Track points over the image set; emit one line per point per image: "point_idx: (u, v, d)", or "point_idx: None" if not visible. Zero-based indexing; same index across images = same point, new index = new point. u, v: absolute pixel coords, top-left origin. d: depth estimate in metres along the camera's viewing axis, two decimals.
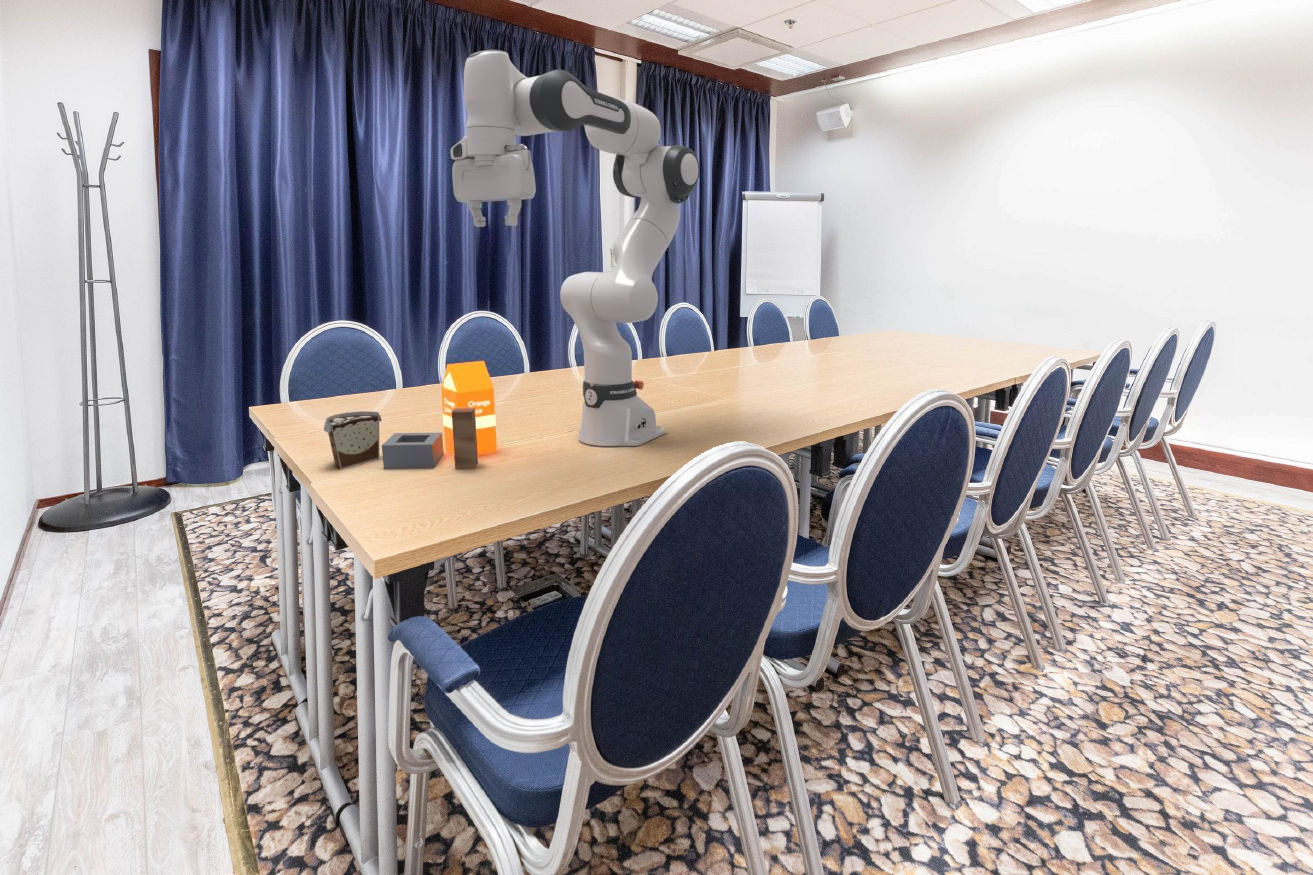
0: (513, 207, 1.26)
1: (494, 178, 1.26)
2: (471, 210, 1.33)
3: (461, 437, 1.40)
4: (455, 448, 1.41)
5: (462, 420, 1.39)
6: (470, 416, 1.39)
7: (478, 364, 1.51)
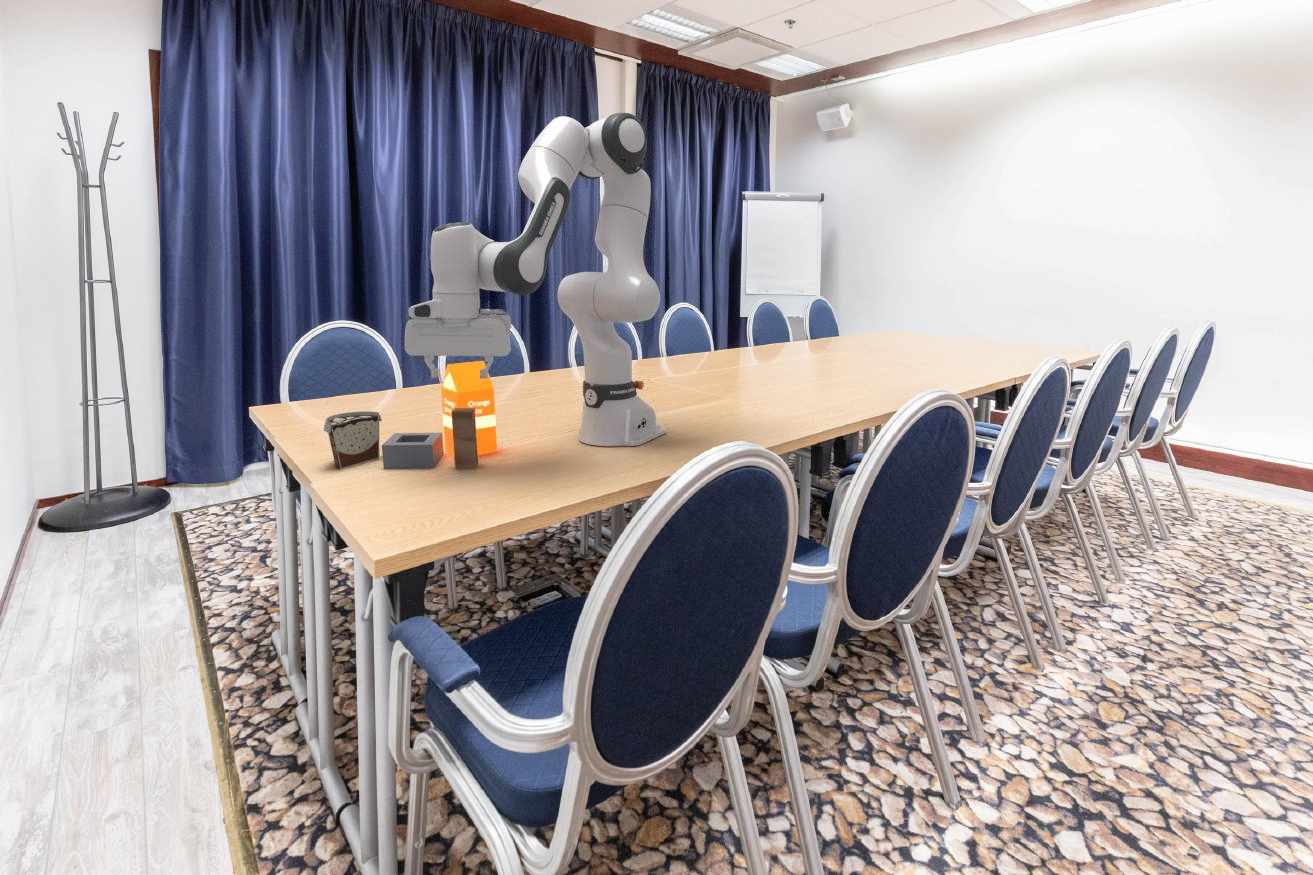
0: (491, 363, 1.38)
1: (470, 338, 1.35)
2: (429, 363, 1.37)
3: (461, 437, 1.40)
4: (455, 448, 1.41)
5: (462, 420, 1.39)
6: (470, 416, 1.39)
7: (478, 364, 1.51)
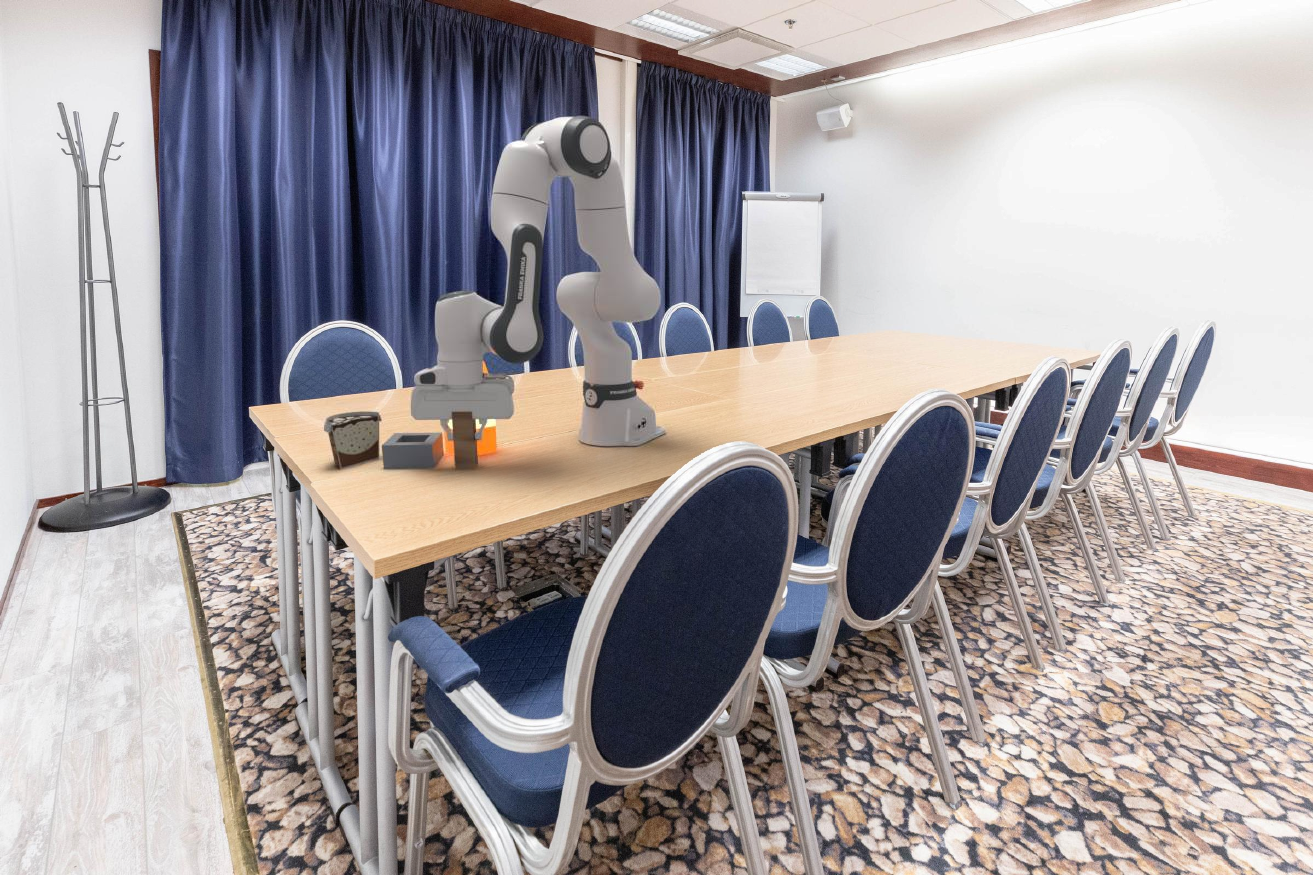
0: (485, 425, 1.41)
1: (474, 402, 1.39)
2: (445, 427, 1.40)
3: (461, 437, 1.40)
4: (455, 448, 1.41)
5: (462, 420, 1.39)
6: (470, 416, 1.39)
7: None
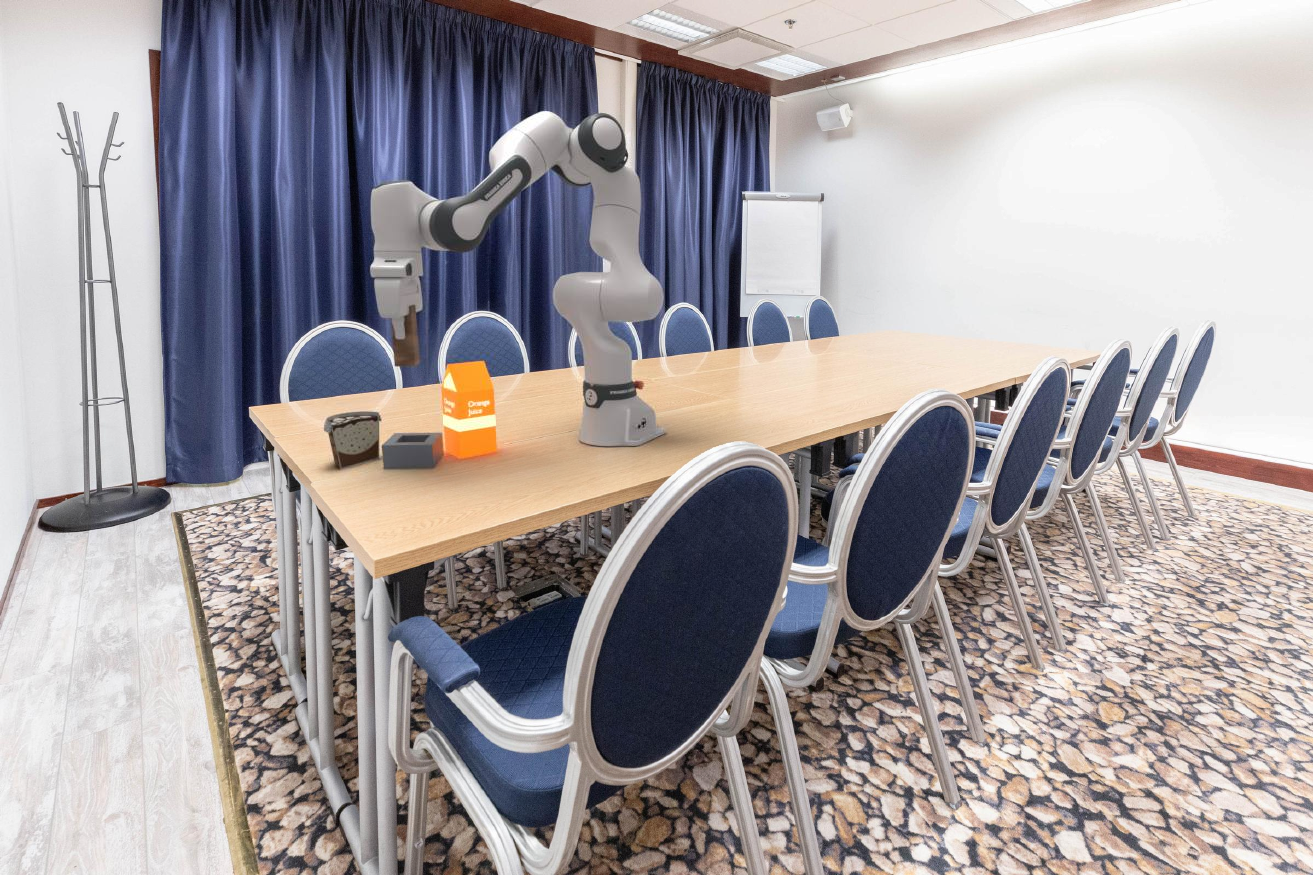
0: None
1: (413, 295, 1.41)
2: None
3: (414, 331, 1.39)
4: (413, 344, 1.39)
5: (413, 314, 1.39)
6: (415, 309, 1.40)
7: (478, 364, 1.51)
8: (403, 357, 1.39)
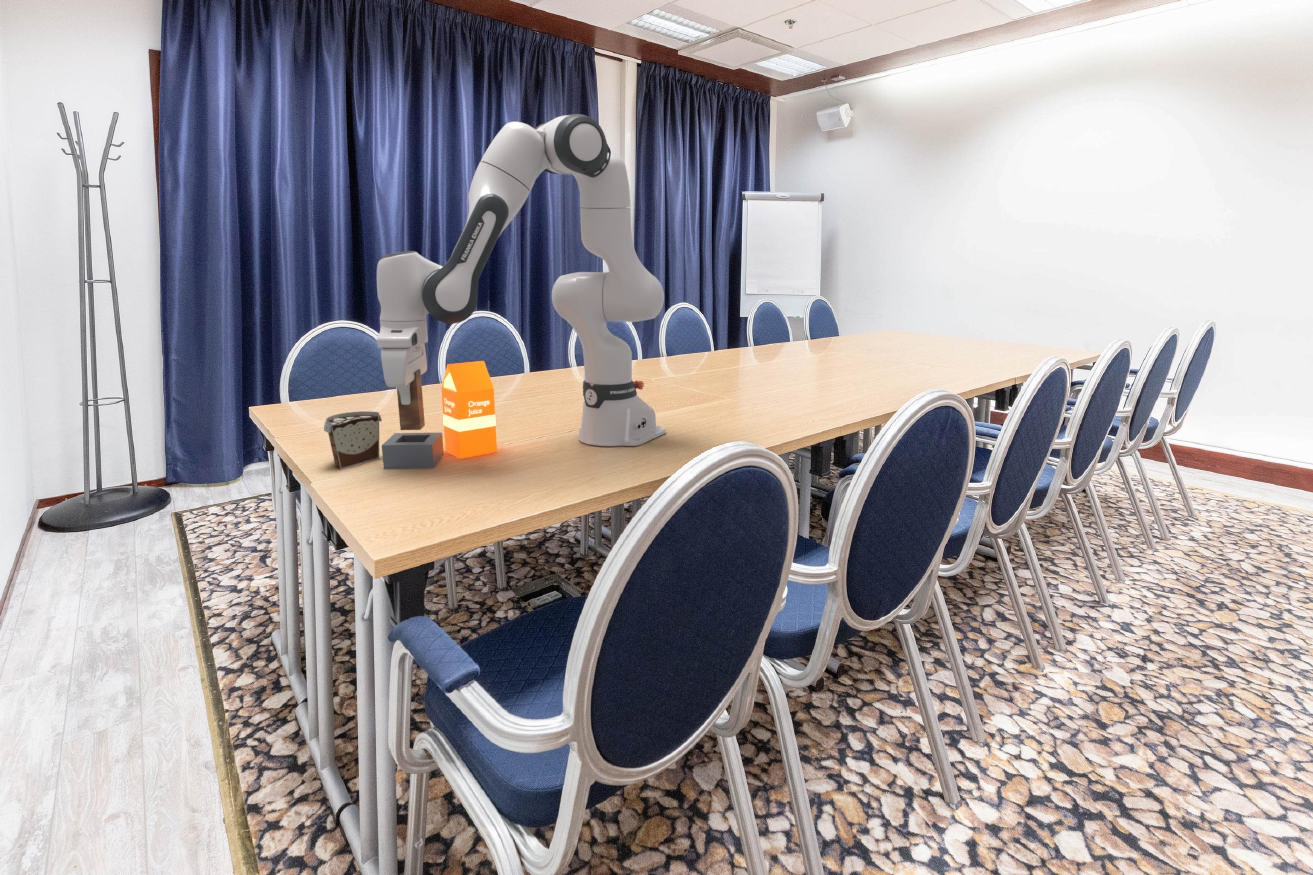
0: None
1: (418, 359, 1.44)
2: (409, 390, 1.39)
3: (419, 396, 1.43)
4: (419, 408, 1.42)
5: (418, 379, 1.42)
6: (420, 374, 1.44)
7: (478, 364, 1.51)
8: (408, 421, 1.42)
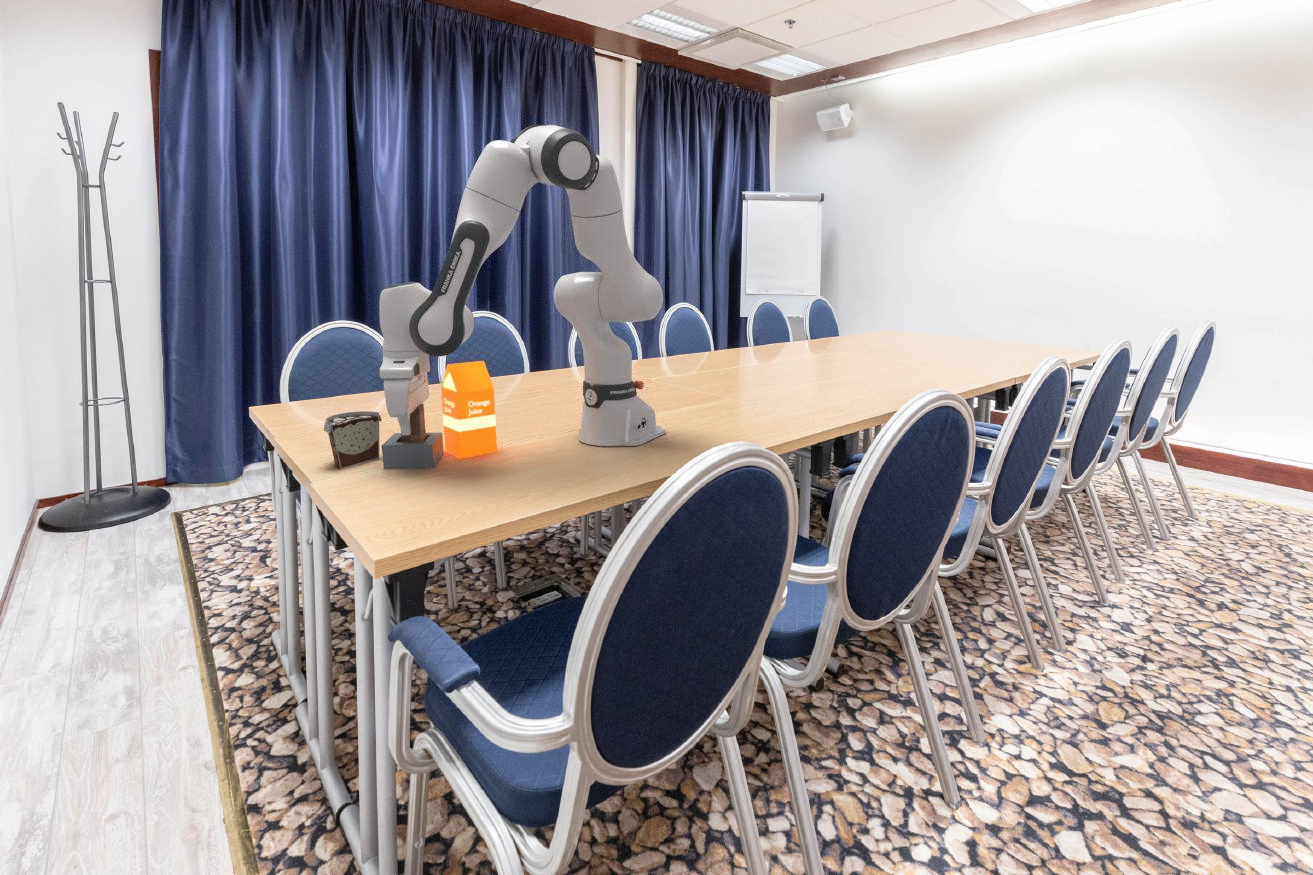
0: None
1: (421, 387, 1.45)
2: (409, 421, 1.39)
3: (422, 430, 1.45)
4: None
5: (421, 414, 1.44)
6: (423, 408, 1.46)
7: (478, 364, 1.51)
8: None
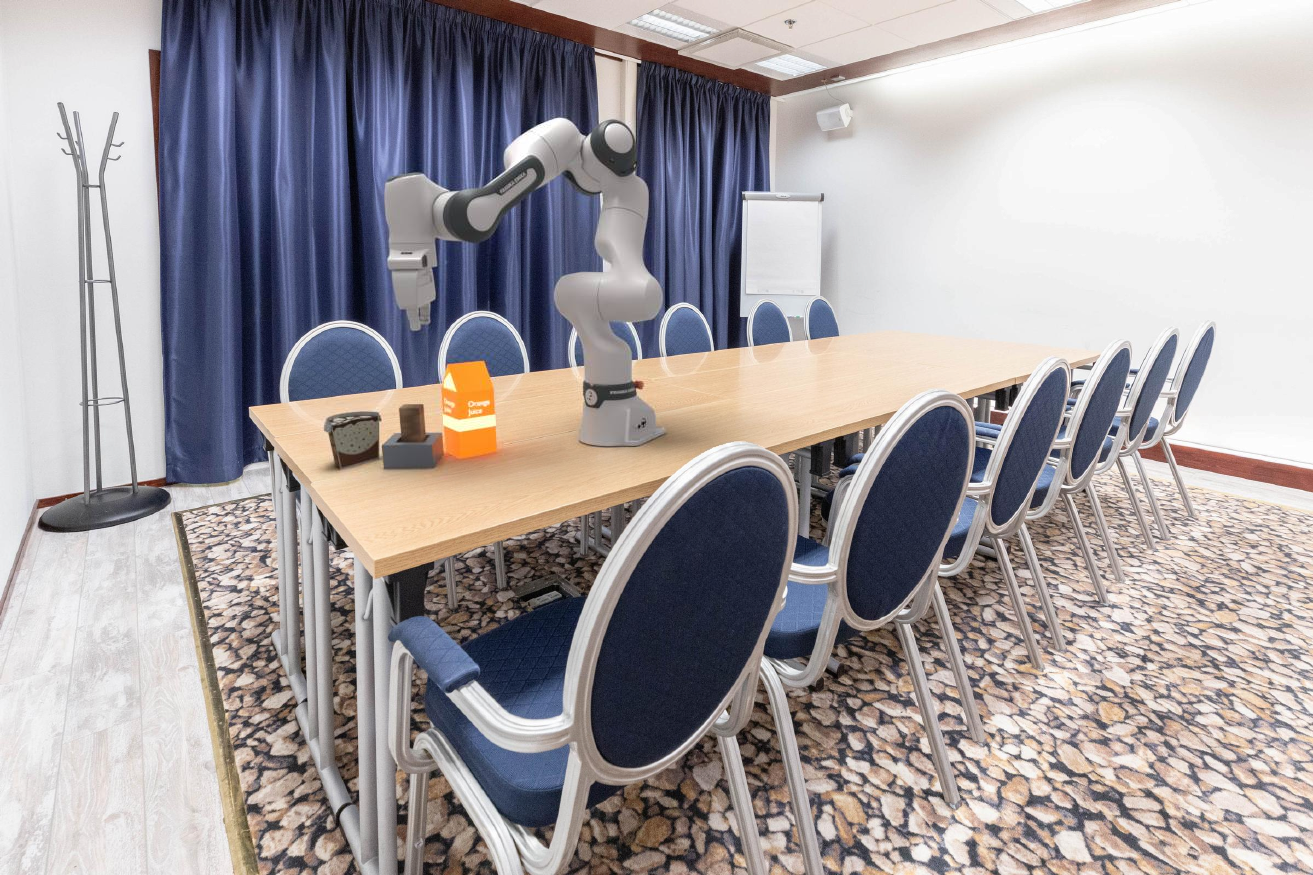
0: None
1: (428, 285, 1.44)
2: (418, 315, 1.37)
3: (422, 430, 1.45)
4: None
5: (421, 414, 1.44)
6: (423, 408, 1.46)
7: (478, 364, 1.51)
8: None
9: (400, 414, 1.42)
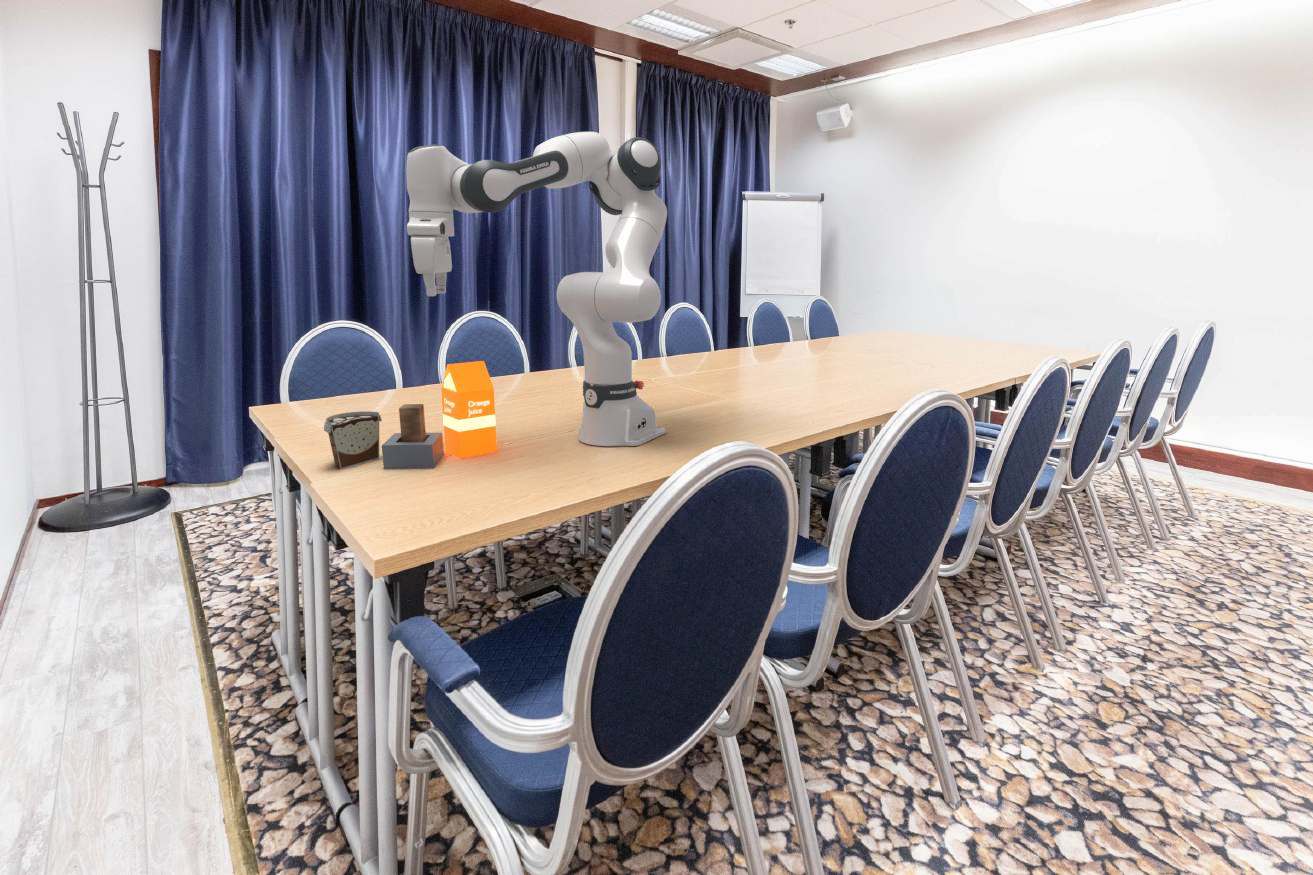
0: None
1: (445, 255, 1.49)
2: (434, 281, 1.42)
3: (422, 430, 1.45)
4: None
5: (421, 414, 1.44)
6: (423, 408, 1.46)
7: (478, 364, 1.51)
8: None
9: (400, 414, 1.42)
